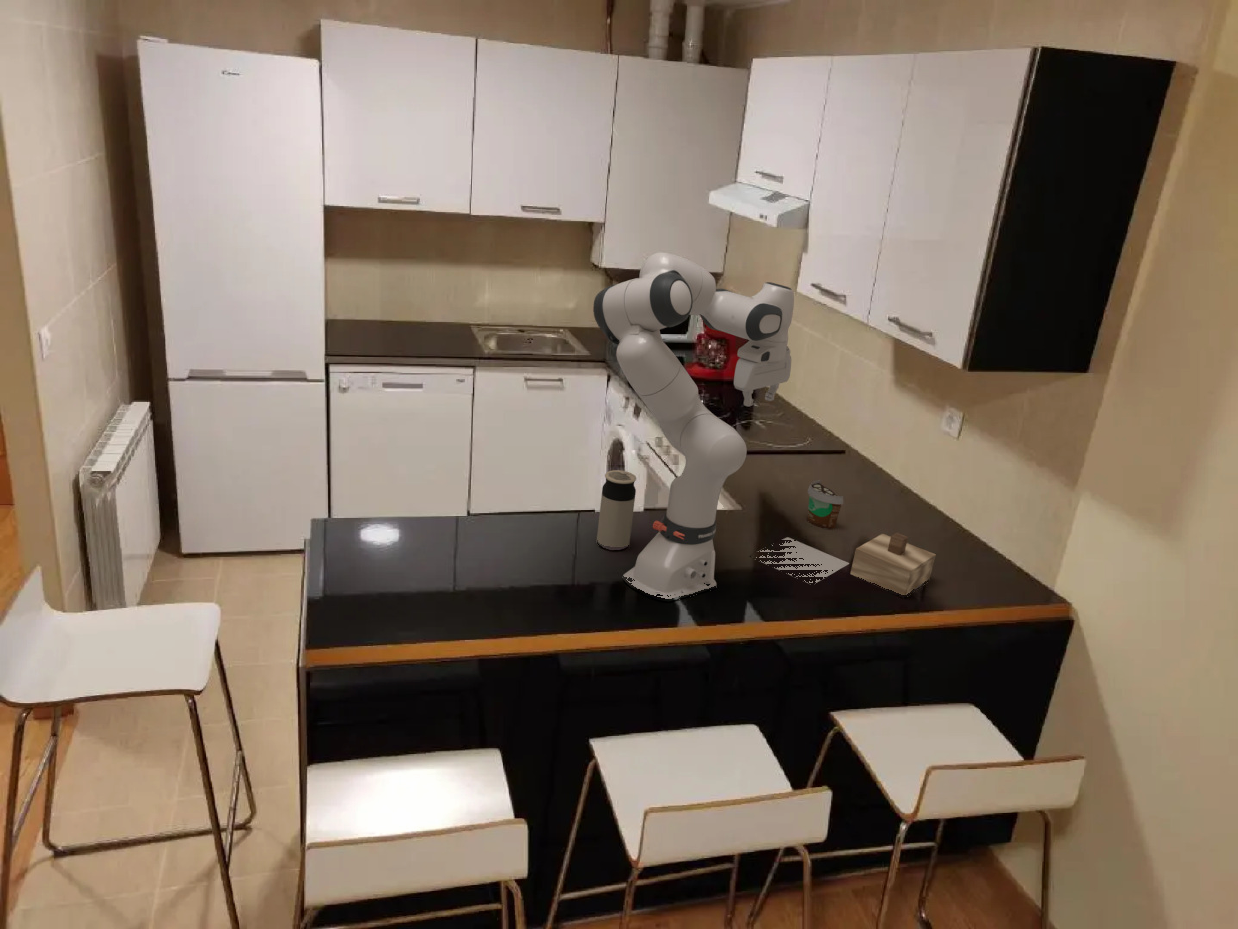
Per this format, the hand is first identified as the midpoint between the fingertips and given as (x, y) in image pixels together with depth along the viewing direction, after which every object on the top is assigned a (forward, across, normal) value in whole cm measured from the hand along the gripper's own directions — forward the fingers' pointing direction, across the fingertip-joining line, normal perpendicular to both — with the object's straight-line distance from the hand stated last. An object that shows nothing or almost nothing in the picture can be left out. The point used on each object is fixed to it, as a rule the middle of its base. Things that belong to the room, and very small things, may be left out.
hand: (758, 402), depth 231 cm
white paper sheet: (+34, +5, +22) cm, 41 cm away
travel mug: (+34, +36, -12) cm, 51 cm away
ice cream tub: (+34, -20, +12) cm, 41 cm away
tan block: (+34, -6, +41) cm, 53 cm away
